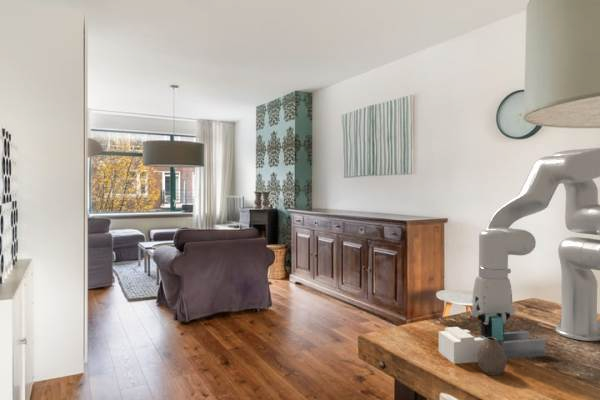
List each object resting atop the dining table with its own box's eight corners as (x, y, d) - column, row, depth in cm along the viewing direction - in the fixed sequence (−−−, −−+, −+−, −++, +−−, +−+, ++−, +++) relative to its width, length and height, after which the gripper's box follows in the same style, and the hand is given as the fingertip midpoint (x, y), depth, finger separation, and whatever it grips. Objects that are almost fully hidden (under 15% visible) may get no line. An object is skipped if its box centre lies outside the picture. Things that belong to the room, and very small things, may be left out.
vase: (472, 366, 108) (472, 334, 108) (496, 365, 109) (497, 333, 108) (485, 378, 101) (485, 344, 101) (512, 377, 102) (512, 343, 101)
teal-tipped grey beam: (494, 346, 119) (494, 312, 118) (503, 352, 114) (504, 317, 114) (450, 349, 116) (450, 315, 116) (458, 355, 112) (458, 320, 112)
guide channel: (526, 345, 122) (526, 330, 122) (546, 355, 114) (546, 340, 114) (484, 348, 120) (484, 333, 120) (501, 359, 112) (501, 343, 112)
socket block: (466, 349, 119) (466, 326, 119) (484, 361, 111) (484, 336, 111) (438, 351, 118) (438, 328, 118) (453, 363, 110) (454, 338, 109)
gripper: (510, 269, 120) (509, 330, 121) (459, 271, 118) (459, 333, 118) (528, 274, 113) (527, 339, 114) (474, 277, 110) (474, 343, 111)
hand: (492, 335), depth 116 cm, fingers closed on teal-tipped grey beam, 3 cm apart
